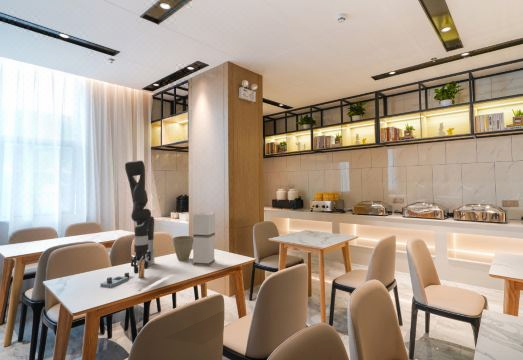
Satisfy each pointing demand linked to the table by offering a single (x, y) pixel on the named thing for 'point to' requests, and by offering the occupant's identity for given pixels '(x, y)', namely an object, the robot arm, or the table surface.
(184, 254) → the plant pot
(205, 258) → the tall lidded box
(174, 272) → the table surface
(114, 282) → the upper chain link
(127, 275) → the lower chain link
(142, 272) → the copper pin
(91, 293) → the table surface
